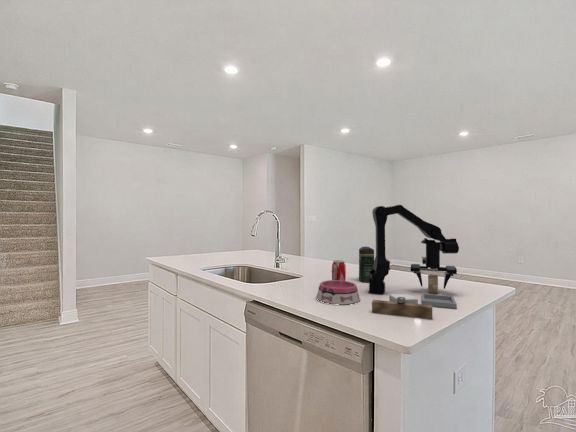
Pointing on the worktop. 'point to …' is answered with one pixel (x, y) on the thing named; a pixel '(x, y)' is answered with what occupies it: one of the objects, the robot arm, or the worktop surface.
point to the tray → (439, 301)
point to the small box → (407, 297)
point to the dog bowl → (338, 292)
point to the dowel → (432, 284)
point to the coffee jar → (365, 263)
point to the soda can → (339, 270)
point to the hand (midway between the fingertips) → (432, 287)
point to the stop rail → (402, 308)
